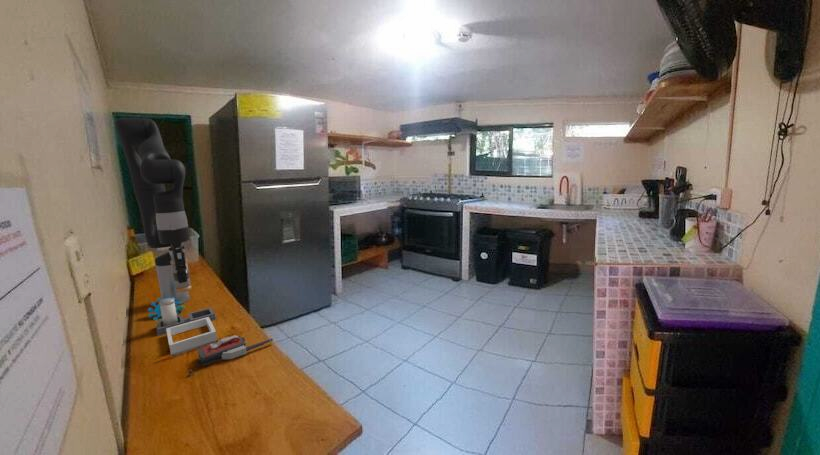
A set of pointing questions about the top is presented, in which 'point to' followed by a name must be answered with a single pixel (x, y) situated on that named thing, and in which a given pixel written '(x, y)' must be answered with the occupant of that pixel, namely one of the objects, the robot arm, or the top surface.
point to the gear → (158, 310)
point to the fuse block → (181, 320)
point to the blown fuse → (181, 286)
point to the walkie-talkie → (225, 350)
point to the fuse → (168, 311)
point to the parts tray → (193, 341)
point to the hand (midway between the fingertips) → (182, 280)
